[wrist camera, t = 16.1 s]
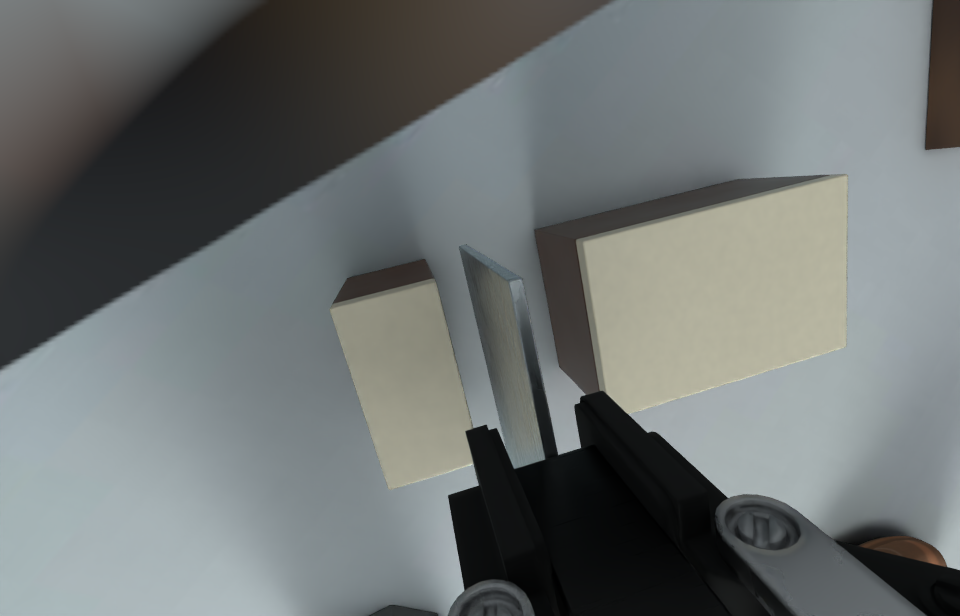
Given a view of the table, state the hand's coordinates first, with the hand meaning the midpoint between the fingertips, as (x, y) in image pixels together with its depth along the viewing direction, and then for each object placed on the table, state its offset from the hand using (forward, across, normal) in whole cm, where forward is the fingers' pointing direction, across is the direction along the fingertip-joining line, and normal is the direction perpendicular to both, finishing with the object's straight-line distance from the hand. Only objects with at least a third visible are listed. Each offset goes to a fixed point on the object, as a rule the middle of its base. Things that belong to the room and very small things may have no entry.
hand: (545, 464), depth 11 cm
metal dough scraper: (+7, 0, 0) cm, 7 cm away
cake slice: (+14, +3, +1) cm, 14 cm away
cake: (+14, -11, 0) cm, 17 cm away
